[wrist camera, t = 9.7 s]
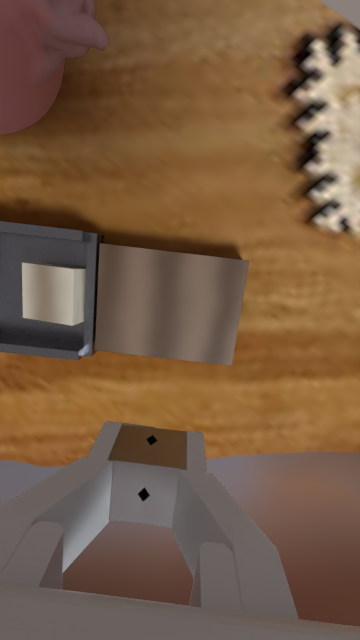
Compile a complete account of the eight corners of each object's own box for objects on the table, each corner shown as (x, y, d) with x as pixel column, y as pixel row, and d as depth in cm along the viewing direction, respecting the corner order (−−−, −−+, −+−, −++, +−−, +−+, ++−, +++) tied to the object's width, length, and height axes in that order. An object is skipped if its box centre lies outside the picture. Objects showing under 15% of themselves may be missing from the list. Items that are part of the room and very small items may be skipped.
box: (103, 235, 31) (88, 230, 26) (98, 349, 34) (84, 364, 29) (-36, 219, 30) (-77, 211, 26) (-29, 335, 33) (-65, 348, 29)
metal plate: (242, 260, 31) (249, 260, 28) (227, 356, 34) (231, 365, 31) (107, 245, 31) (99, 243, 28) (102, 342, 34) (94, 350, 31)
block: (89, 268, 30) (74, 269, 27) (87, 320, 31) (72, 325, 28) (41, 262, 31) (21, 262, 28) (41, 313, 32) (22, 317, 29)
